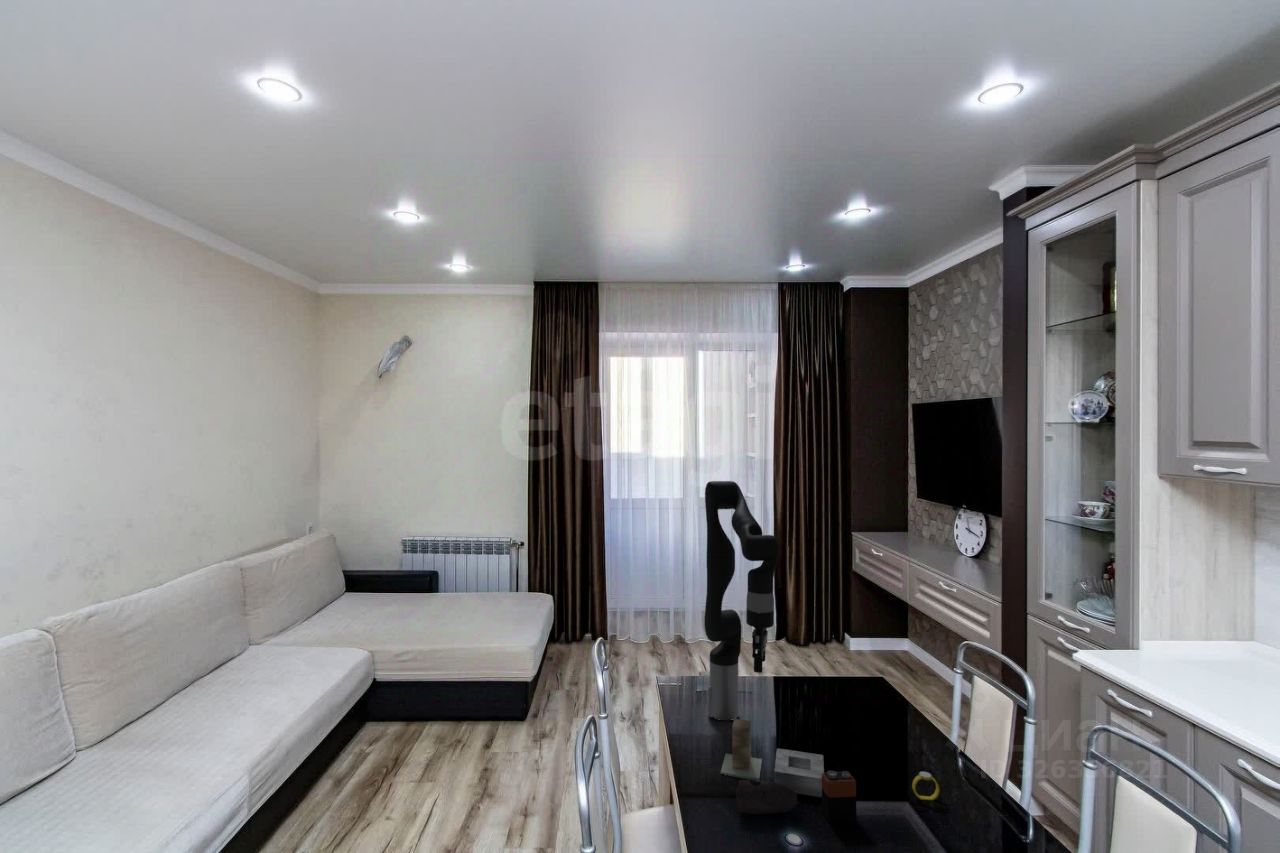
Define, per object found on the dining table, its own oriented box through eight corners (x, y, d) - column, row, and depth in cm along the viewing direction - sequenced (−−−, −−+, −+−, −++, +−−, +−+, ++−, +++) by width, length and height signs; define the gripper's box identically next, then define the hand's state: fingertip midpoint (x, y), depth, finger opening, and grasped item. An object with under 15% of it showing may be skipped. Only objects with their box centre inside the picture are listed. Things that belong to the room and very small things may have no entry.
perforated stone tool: (794, 805, 141) (794, 775, 141) (801, 819, 135) (800, 788, 136) (732, 805, 140) (732, 775, 141) (736, 818, 135) (736, 788, 136)
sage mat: (720, 774, 154) (720, 772, 154) (725, 755, 163) (725, 753, 163) (759, 780, 151) (759, 778, 151) (762, 761, 161) (762, 758, 161)
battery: (821, 811, 138) (820, 768, 139) (848, 810, 139) (848, 767, 139) (828, 823, 134) (828, 778, 134) (857, 821, 134) (856, 777, 135)
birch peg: (732, 768, 156) (732, 726, 156) (734, 759, 160) (734, 718, 160) (749, 771, 154) (749, 728, 155) (751, 762, 159) (751, 721, 159)
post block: (774, 789, 147) (774, 771, 147) (776, 765, 158) (776, 748, 159) (824, 797, 144) (824, 779, 144) (823, 772, 155) (823, 754, 155)
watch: (916, 802, 143) (913, 777, 143) (911, 795, 145) (909, 771, 146) (941, 802, 142) (939, 777, 142) (937, 795, 145) (934, 771, 145)
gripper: (749, 599, 170) (749, 656, 170) (743, 612, 157) (742, 674, 156) (775, 602, 168) (775, 659, 168) (771, 615, 155) (771, 677, 154)
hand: (759, 666), depth 162 cm, fingers open, 8 cm apart
